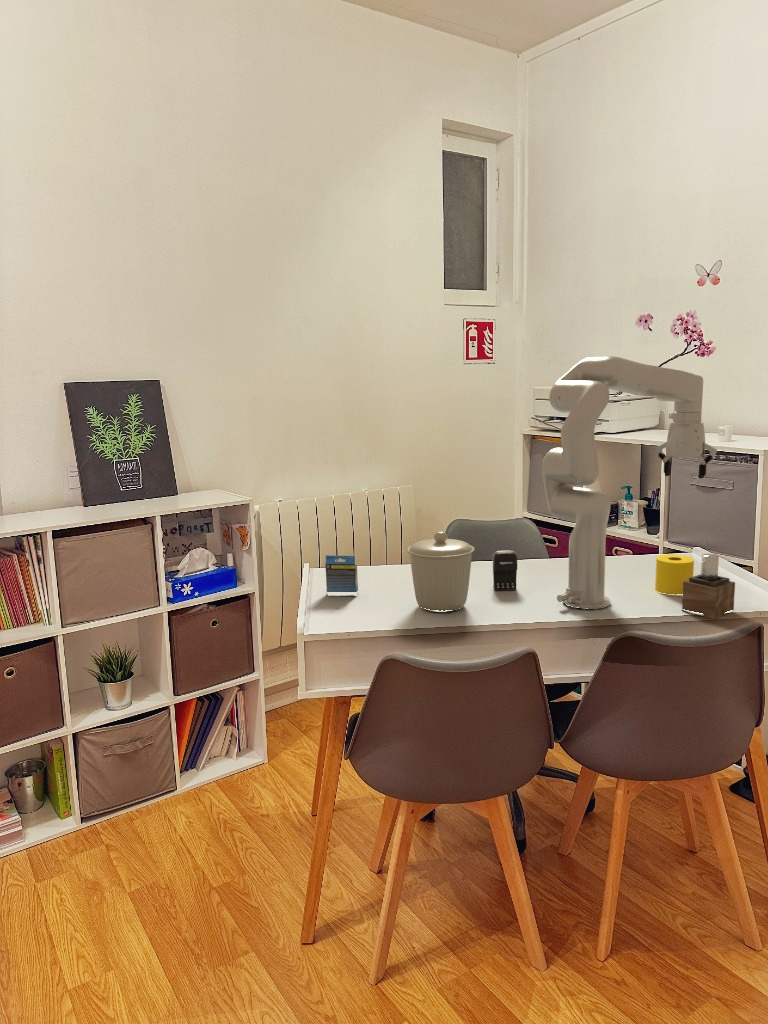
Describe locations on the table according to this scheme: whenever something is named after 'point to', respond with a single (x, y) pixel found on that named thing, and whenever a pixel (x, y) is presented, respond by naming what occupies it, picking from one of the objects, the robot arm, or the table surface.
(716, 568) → the peg
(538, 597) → the table surface
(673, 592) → the tape roll
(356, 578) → the label tape box
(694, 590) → the socket block
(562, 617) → the table surface
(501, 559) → the battery charger
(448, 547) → the canister
